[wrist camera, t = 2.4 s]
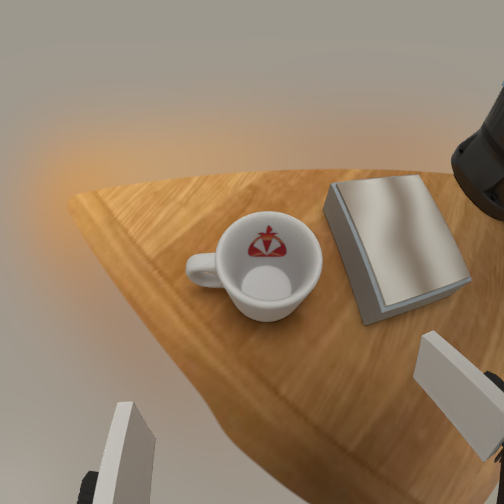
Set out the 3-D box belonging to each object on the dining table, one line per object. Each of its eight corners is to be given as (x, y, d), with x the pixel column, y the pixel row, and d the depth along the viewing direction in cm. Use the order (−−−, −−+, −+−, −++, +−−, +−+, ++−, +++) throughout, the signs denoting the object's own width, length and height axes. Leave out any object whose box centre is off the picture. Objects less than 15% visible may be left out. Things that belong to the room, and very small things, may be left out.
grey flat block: (404, 197, 34) (419, 172, 29) (449, 295, 27) (474, 278, 23) (322, 209, 33) (331, 180, 28) (363, 325, 26) (383, 311, 22)
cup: (193, 328, 27) (170, 303, 19) (201, 253, 30) (185, 209, 23) (307, 331, 26) (327, 307, 19) (304, 256, 30) (318, 211, 23)
